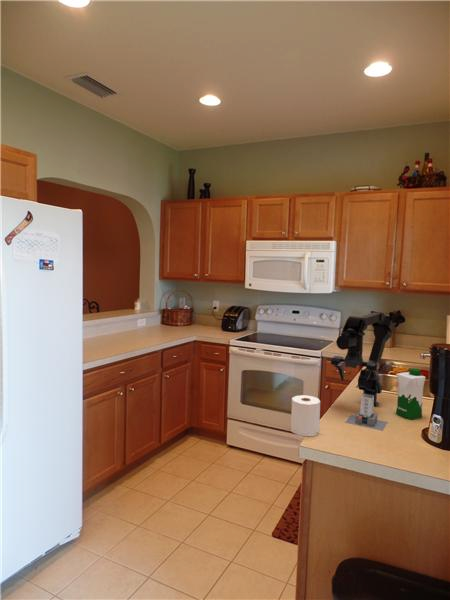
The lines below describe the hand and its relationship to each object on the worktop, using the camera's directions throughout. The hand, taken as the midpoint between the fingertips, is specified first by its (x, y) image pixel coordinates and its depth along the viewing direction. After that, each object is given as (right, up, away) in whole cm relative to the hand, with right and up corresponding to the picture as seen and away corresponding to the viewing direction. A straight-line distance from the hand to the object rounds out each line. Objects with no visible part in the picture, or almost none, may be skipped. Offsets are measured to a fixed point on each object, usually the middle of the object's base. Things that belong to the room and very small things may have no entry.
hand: (353, 383), depth 168 cm
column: (+1, -10, -13) cm, 16 cm away
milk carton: (+21, -14, -5) cm, 25 cm away
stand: (+1, -14, -12) cm, 18 cm away
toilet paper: (-24, -14, -19) cm, 34 cm away
